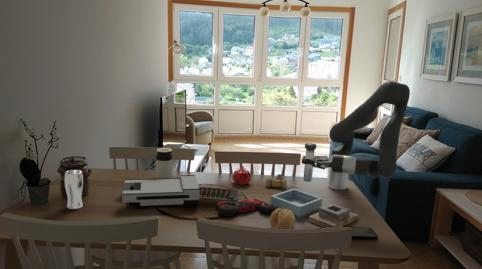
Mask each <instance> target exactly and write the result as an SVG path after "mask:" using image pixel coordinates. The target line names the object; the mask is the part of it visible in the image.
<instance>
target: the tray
mask: <svg viewBox="0 0 482 269" xmlns="http://www.w3.org/2000/svg"><path fill="white" fill-rule="evenodd" d="M270 204H272V205H274V206H275V208H276V209H277V208H283V209H288V210H290V211H292V213H293V214H294V216H295V218H297V219H301V218H304V217H306V216H308V215H309V216H310V215H311V214H314V213H317V212H319V208H320V207H323V198H322V197H320V196H317V195H313V194H310V193H308V192H304V191H302V190H300V189H296V188H292V189H288V190H285V191H283V192H279V193H276V194H273V195H271V196H270Z"/></svg>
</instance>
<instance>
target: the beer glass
mask: <svg viewBox="0 0 482 269" xmlns="http://www.w3.org/2000/svg"><path fill="white" fill-rule="evenodd" d="M64 188H65V192H66V195H67V204H66V208H67V209H68V210H69V209H70V210H78V209H81V208H83V205H84V204H83V200H82V196H83V195H82V194H83V188H84V175H83V170H81V169H80V170H79V169H70V170H67V171H65V172H64Z"/></svg>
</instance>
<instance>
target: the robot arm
mask: <svg viewBox="0 0 482 269" xmlns="http://www.w3.org/2000/svg"><path fill="white" fill-rule="evenodd" d="M410 91H411V89H410V87H409V85H407V84H404V83H400V82H395V81H392V80H389V81H385V82H383V83H382V84H380V86H379V87H378V88H377V89H376V90H375V91H374V92H373V93H372V95H370V96H369V97H368V98H367V99H366V100H365V101H364V102H362V104H360V105H359V106H357V108H355V109H354V110H353V111H352V112H351V113H350V114H348V115H347V116H345V118H343V119H342V120H341V121H339V122H337V123H335V124H334V125H333V126H332V127H331V129H330V130H329V139H330V141H332V142H333V143H337V144H339V145H338V146H336V147H334V148H332V150H331V155H330V156H331V157H328V155H316V154H314V159H305V155H303V157H302V158H301V164H303V165H305V164H309V165H310V164H311V166H312V167H313V168H317V169H321V170H326V169H327V168H329V178H328V179H329V180H328V187H329V189H332V190H336V191H345V190H347V188H348V185H349V184H348V182H349V175H359V176H369V177H370V176H371V177H376V178H381V179H388V178H389V179H390V178H391V177H393V176H394V175H395V174H396V171H397V170H396V169H397V152H398V147H399V141H400V140H399V139H400V132H401V128H402V124H403V121H404V117H405V115H406V111H407V107H408V104H409V101H410V96H411V92H410ZM384 104H386V105H393V106H394V109H393V113H392V116H391V118H390V120H389V121H388V122H387V123H386V124H385V126H384V127H383V129H382V131H381V133H380V137H379V138H380V139H379V146H378V151H379V155H378V160H374V159H369V158H364V157H357V156H356V157H355V156H351V154H352V152H353V145H354V139H355V132H356V131H358V130H361V129H363V128H365V127H367V126H369V125H370V124H371V123H373V122H374V121H375V120H376V119H377V117H378V113H379V107H381V106H382V105H384Z"/></svg>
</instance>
